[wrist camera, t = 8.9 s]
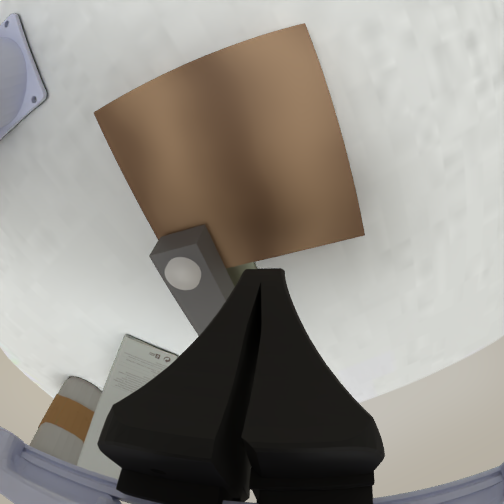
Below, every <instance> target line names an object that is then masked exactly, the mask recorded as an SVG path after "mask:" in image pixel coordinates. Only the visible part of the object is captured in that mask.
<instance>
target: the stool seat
mask: <svg viewBox="0 0 504 504" xmlns="http://www.w3.org/2000/svg"><path fill="white" fill-rule="evenodd" d="M94 115H95V117H96V119H97V121H98V124H99V126H100V128H101V130H102V132H103V134H104V136H105V138H106V140H107V143H108V145H109V147H110V149H111V151H112V153H113V155H114V157H115V159H116V161H117V163H118V165H119V167H120V169H121V171H122V173H123V175H124V177H125V179H126V181H127V183H128V185H129V186H130V188H131V190H132V192H133V194H134V196H135V198H136V200H137V202H138V204H139V205H140V207H141V209H142V211H143V213H144V215H145V217H146V218H147V220H148V222H149V224H150V226H151V228H152V229H153V231H154V233H155V235H156V237H157V238H158V240H159V239H160V237H162V236H166V235H169V234H172V233H176V232H179V231H183V230H186V229H190V228H193V227H197V226H201V225H204V224H205V225H206V228H207V230H208V232H209V234H210V236H211V238H212V240H213V242H214V245H215V247H216V249H217V251H218V253H219V255H220V257H221V259H222V261H223V264H224V266H225V268H226V270H227V272H228V274H229V276H230V278H231V280H232V282H233V284H234V287H235V286H236V284H237V282H238V281H239V279H240V277H241V275H242V273H243V271H244V270H246V269H257V267H256V265H255V263H254V262H255V261H260V260H264V259H268V258H272V257H276V256H281V255H285V254H289V253H293V252H297V251H301V250H306V249H310V248H314V247H318V246H322V245H326V244H330V243H335V242H339V241H343V240H347V239H351V238H355V237H359V236H363V235H365V234H364V228H363V223H362V218H361V213H360V208H359V204H358V199H357V194H356V190H355V186H354V181H353V177H352V173H351V169H350V165H349V161H348V157H347V153H346V149H345V145H344V141H343V138H342V134H341V130H340V127H339V123H338V120H337V116H336V113H335V109H334V106H333V103H332V100H331V96H330V93H329V90H328V87H327V84H326V81H325V78H324V75H323V72H322V69H321V66H320V63H319V60H318V57H317V54H316V52H315V49H314V46H313V43H312V41H311V38H310V35H309V33H308V30H307V27H306V25H305V23H304V24H300V25H296V26H292V27H289V28H285V29H281V30H278V31H275V32H271V33H268V34H265V35H261V36H258V37H255V38H252V39H249V40H246V41H243V42H240V43H238V44H235V45H232V46H229V47H227V48H224V49H221V50H219V51H216V52H214V53H211V54H209V55H206V56H204V57H201V58H199V59H196V60H194V61H192V62H189V63H187V64H185V65H183V66H180V67H178V68H176V69H174V70H172V71H169V72H167V73H165V74H163V75H161V76H159V77H157V78H155V79H153V80H151V81H149V82H147V83H145V84H143V85H141V86H139V87H137V88H136V89H134V90H132V91H130V92H128V93H126V94H124V95H123V96H121V97H119V98H117V99H116V100H114V101H112V102H110V103H109V104H107V105H105V106H104V107H102V108H100V109H99V110H97V111H95V112H94Z"/></svg>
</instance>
